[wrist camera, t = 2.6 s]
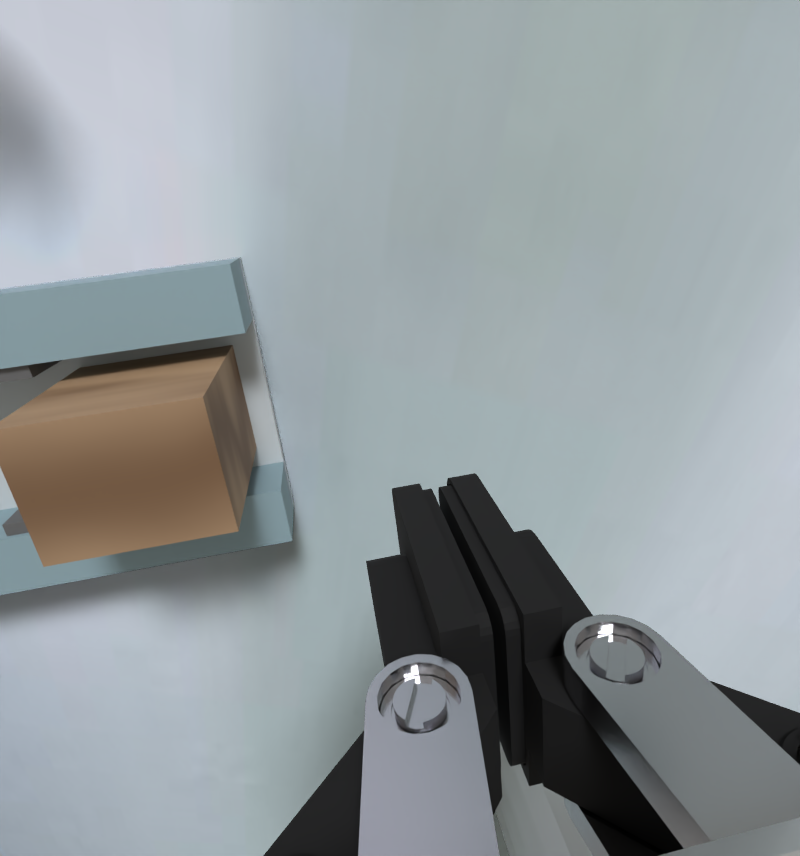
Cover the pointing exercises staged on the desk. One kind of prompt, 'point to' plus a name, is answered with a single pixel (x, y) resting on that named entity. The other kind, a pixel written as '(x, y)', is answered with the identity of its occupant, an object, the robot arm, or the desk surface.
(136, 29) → the desk surface
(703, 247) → the desk surface
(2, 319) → the chute
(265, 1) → the desk surface
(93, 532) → the walnut block
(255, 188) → the desk surface
